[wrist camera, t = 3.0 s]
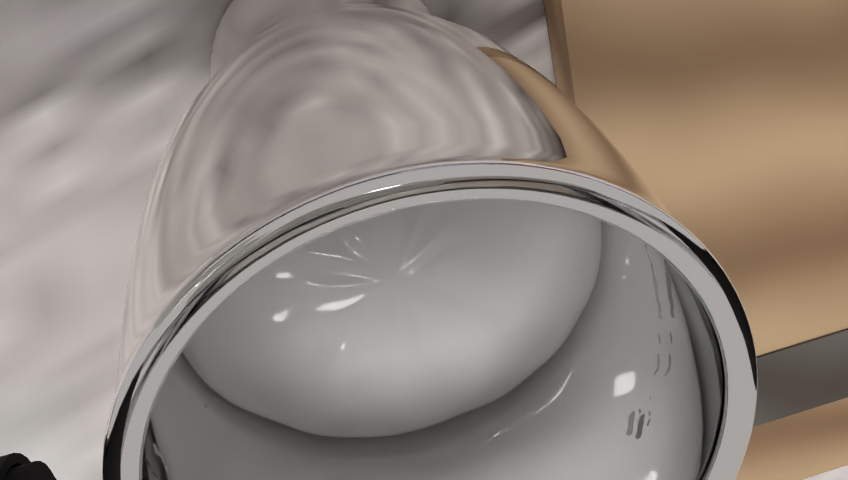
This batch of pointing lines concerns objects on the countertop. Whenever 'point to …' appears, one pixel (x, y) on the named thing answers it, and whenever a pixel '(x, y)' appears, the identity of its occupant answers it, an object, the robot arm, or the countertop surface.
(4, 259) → the countertop surface
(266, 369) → the beer glass
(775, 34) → the oak board
